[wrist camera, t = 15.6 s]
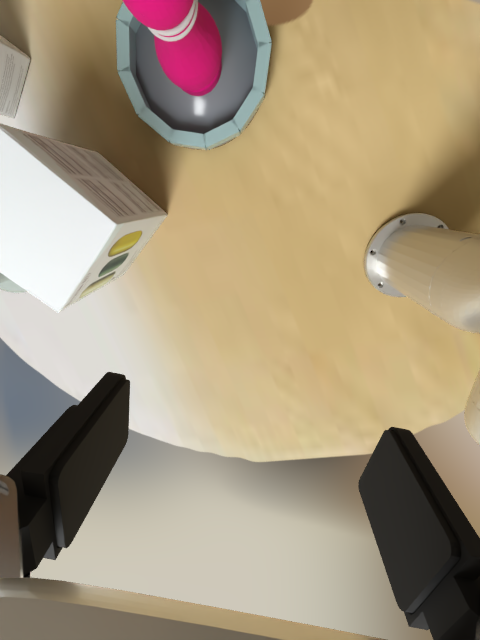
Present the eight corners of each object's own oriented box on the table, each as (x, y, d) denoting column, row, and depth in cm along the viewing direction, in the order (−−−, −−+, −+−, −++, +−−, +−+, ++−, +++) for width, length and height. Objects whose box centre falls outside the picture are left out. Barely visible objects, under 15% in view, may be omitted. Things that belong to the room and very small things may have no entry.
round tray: (280, -18, 33) (283, -39, 30) (255, 158, 40) (255, 155, 37) (126, -42, 33) (113, -66, 30) (129, 139, 40) (118, 134, 37)
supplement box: (124, 277, 48) (57, 316, 32) (54, 222, 45) (-58, 235, 29) (170, 214, 44) (119, 223, 28) (96, 149, 41) (-9, 117, 25)
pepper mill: (236, 76, 36) (215, -57, 17) (190, 114, 37) (126, 31, 19) (203, 11, 33) (138, -220, 15) (156, 55, 35) (46, -102, 17)
